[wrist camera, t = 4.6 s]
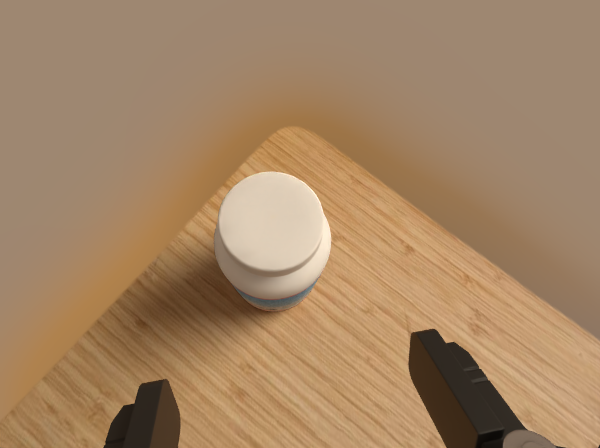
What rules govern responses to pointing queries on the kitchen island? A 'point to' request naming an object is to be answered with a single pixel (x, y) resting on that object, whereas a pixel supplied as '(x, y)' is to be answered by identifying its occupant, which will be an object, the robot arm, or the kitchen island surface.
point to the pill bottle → (272, 240)
